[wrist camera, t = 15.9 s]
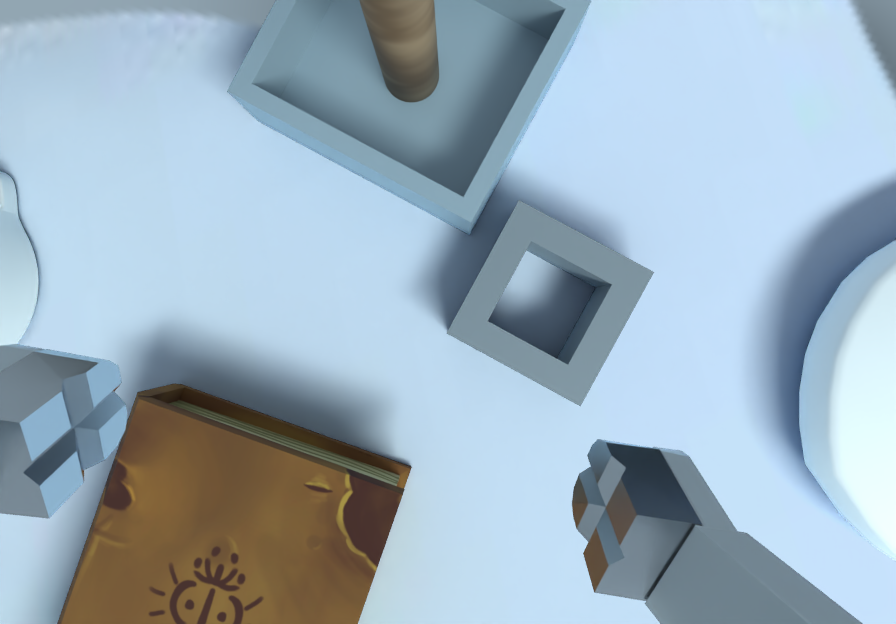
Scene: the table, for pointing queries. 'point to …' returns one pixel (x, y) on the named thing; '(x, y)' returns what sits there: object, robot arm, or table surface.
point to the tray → (411, 123)
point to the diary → (232, 520)
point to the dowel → (404, 45)
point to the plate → (855, 400)
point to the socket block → (594, 328)
